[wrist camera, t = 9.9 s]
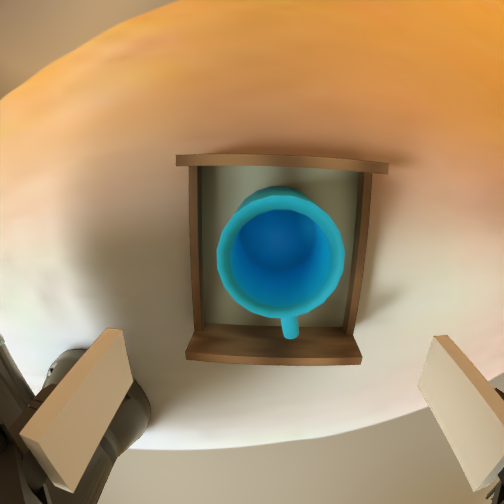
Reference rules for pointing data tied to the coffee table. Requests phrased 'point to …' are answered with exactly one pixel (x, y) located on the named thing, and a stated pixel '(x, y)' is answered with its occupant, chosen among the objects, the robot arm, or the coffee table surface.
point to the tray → (210, 284)
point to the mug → (280, 255)
